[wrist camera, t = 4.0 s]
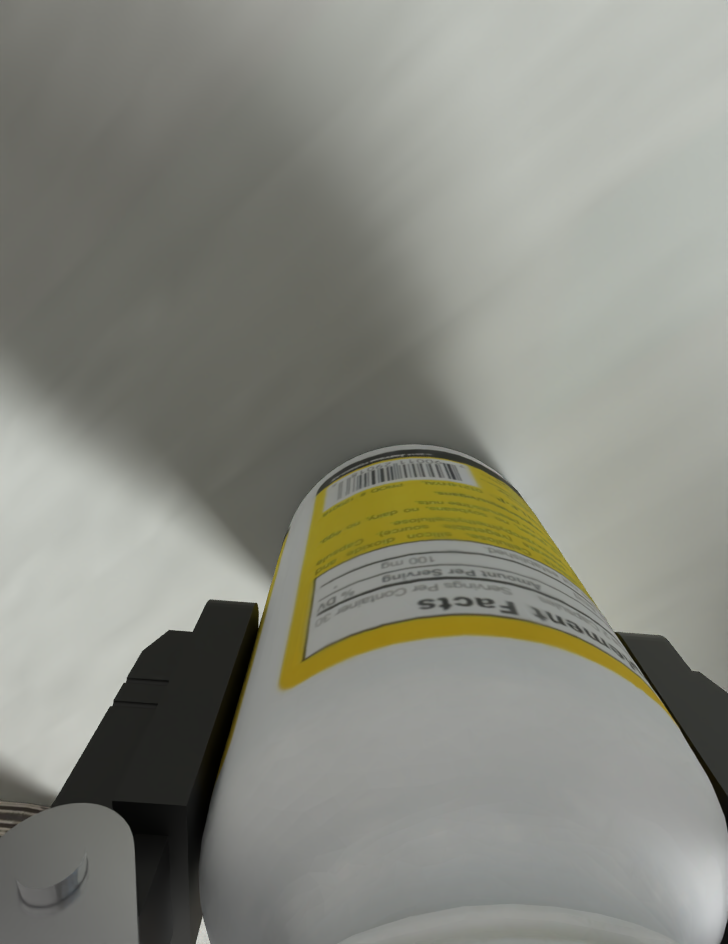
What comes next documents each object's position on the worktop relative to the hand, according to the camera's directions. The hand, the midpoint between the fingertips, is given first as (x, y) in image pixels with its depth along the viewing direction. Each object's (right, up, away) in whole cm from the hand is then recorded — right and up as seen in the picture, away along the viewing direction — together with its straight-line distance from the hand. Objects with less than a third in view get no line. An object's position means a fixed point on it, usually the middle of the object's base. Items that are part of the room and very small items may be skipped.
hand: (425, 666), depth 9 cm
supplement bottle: (0, +1, +4) cm, 4 cm away
